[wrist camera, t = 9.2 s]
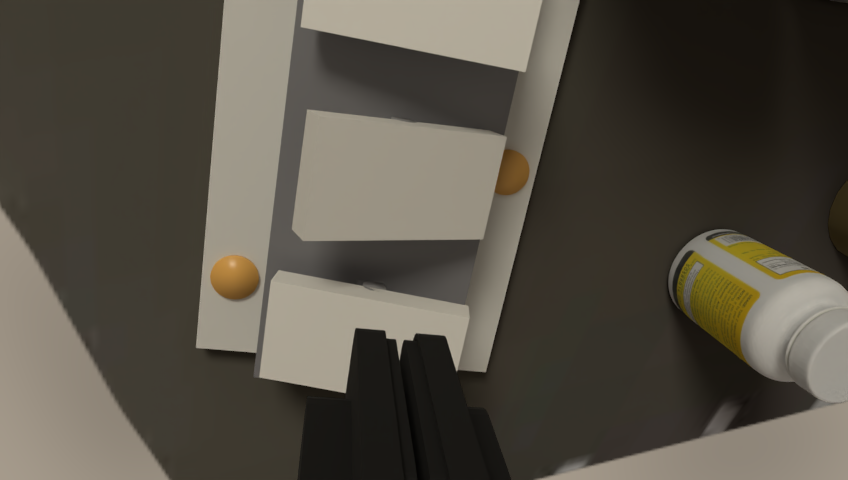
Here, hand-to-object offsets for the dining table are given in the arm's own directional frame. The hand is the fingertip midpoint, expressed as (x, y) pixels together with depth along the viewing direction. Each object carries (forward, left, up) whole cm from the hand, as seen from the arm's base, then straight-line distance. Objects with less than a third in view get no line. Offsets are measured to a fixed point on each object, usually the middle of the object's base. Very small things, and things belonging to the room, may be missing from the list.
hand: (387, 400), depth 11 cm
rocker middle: (-2, -1, -14) cm, 14 cm away
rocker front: (-2, -8, -14) cm, 16 cm away
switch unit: (-2, -1, -19) cm, 19 cm away
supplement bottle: (-21, +3, -19) cm, 29 cm away
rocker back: (-2, +6, -14) cm, 15 cm away
